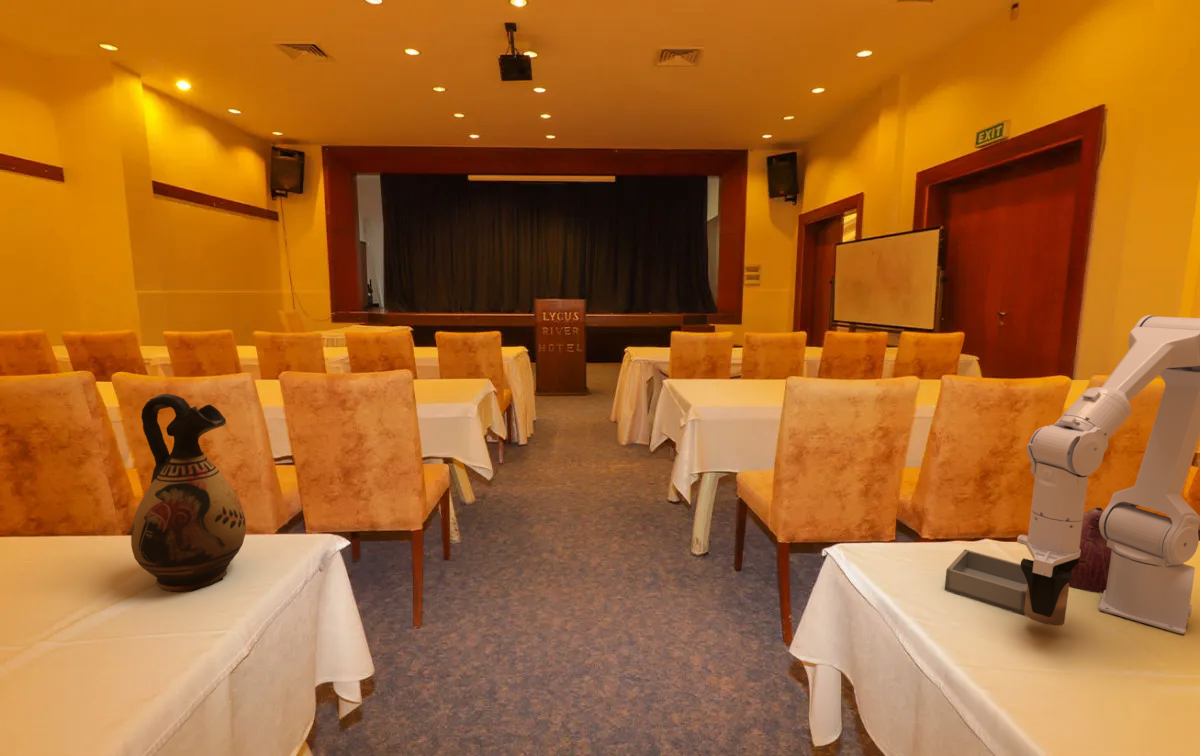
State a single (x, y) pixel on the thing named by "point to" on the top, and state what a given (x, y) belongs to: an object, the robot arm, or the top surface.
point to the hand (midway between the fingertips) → (1045, 606)
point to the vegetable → (1092, 555)
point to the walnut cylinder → (1059, 610)
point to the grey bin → (988, 580)
